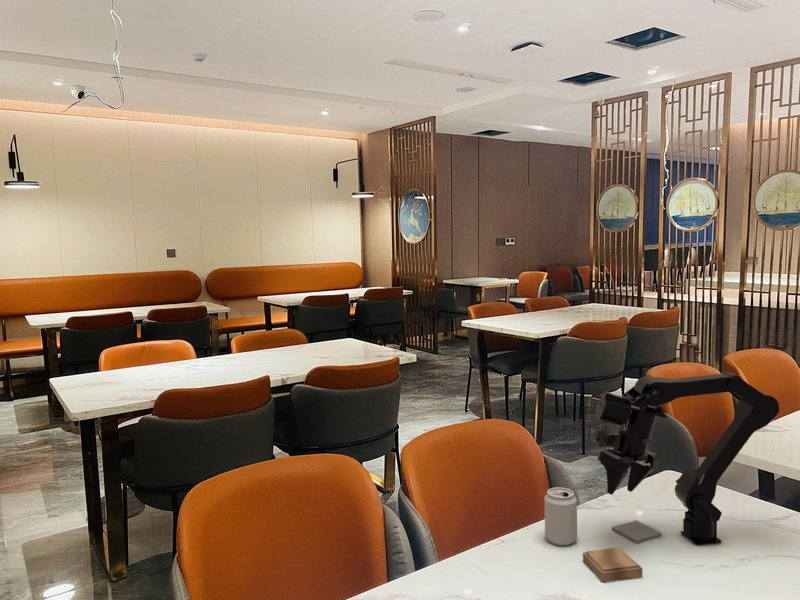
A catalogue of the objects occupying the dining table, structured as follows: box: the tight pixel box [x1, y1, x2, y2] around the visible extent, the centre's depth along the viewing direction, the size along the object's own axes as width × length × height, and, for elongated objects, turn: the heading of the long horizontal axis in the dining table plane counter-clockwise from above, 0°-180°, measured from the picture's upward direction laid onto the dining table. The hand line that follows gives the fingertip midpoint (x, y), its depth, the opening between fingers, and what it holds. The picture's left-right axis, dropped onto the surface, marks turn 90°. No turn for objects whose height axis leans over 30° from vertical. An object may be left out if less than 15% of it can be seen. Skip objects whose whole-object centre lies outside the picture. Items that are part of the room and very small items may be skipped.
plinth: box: [582, 546, 643, 583], centre depth 134 cm, size 9×9×2 cm
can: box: [544, 486, 578, 547], centre depth 147 cm, size 8×8×12 cm
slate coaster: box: [611, 519, 663, 544], centre depth 150 cm, size 8×8×1 cm
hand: (619, 492), depth 146 cm, fingers open, 9 cm apart
